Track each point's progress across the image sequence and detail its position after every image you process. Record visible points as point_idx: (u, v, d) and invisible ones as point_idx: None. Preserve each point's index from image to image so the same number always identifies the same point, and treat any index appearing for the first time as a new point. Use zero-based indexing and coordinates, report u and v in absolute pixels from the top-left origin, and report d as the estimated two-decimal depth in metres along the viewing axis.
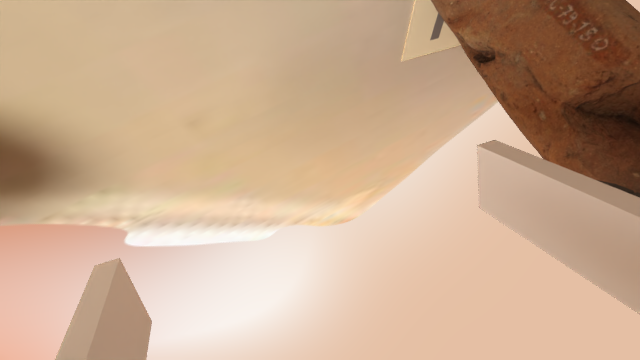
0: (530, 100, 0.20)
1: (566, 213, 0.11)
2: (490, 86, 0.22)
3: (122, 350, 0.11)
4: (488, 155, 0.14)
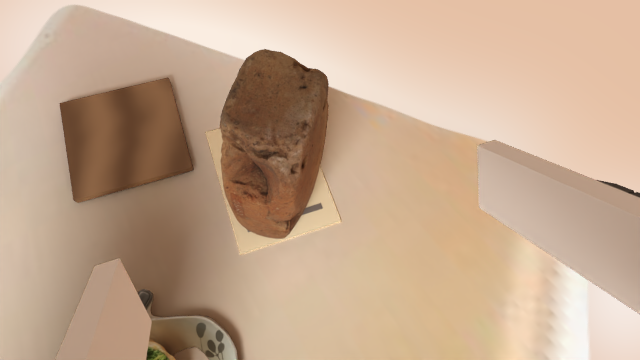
0: (277, 211, 0.33)
1: (566, 213, 0.11)
2: (293, 215, 0.36)
3: (122, 350, 0.11)
4: (488, 155, 0.14)
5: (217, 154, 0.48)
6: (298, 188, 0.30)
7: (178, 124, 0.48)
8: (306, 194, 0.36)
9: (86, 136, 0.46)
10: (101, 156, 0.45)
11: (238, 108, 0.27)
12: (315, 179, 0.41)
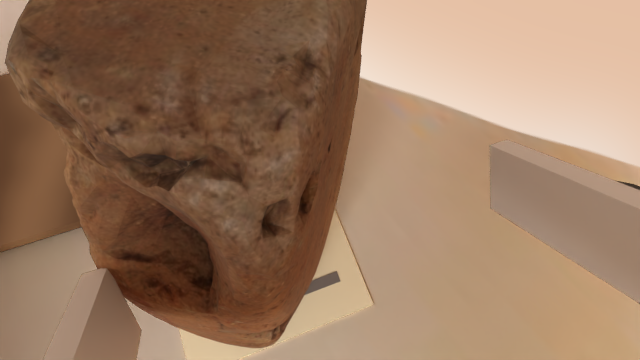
0: (242, 325, 0.13)
1: (583, 214, 0.11)
2: (285, 320, 0.16)
3: None
4: (501, 155, 0.14)
5: None
6: (292, 274, 0.10)
7: None
8: (313, 269, 0.16)
9: None
10: None
11: (71, 14, 0.08)
12: (328, 230, 0.21)
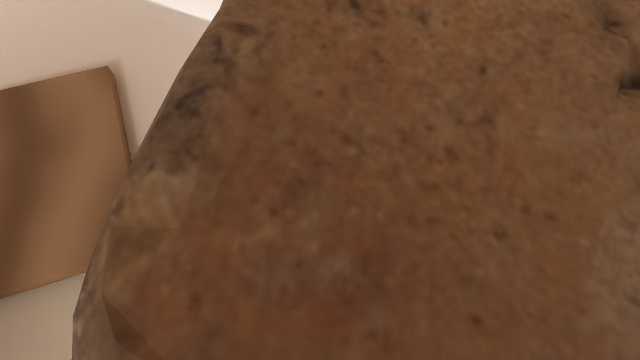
0: None
1: None
2: None
3: None
4: None
5: None
6: None
7: (121, 157, 0.24)
8: None
9: None
10: None
11: (220, 258, 0.03)
12: None
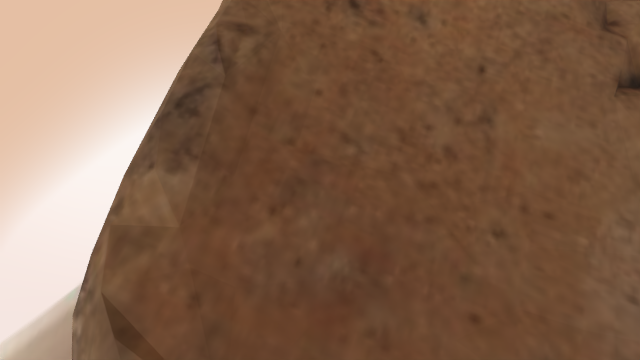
0: None
1: None
2: None
3: None
4: None
5: None
6: None
7: None
8: None
9: None
10: None
11: (219, 258, 0.03)
12: None
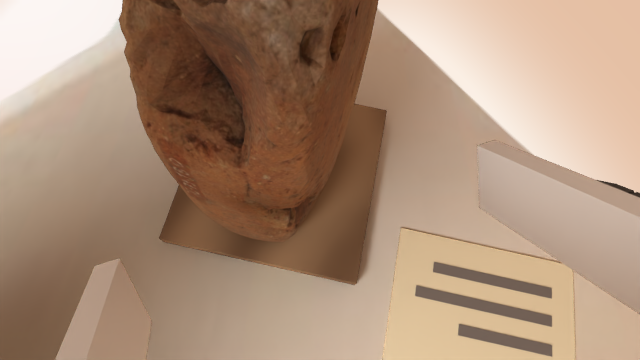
0: (267, 186, 0.15)
1: (565, 213, 0.11)
2: (303, 198, 0.17)
3: (122, 350, 0.11)
4: (488, 155, 0.14)
5: (404, 278, 0.26)
6: (318, 120, 0.12)
7: (368, 196, 0.27)
8: (330, 155, 0.18)
9: None
10: None
11: None
12: (344, 135, 0.22)
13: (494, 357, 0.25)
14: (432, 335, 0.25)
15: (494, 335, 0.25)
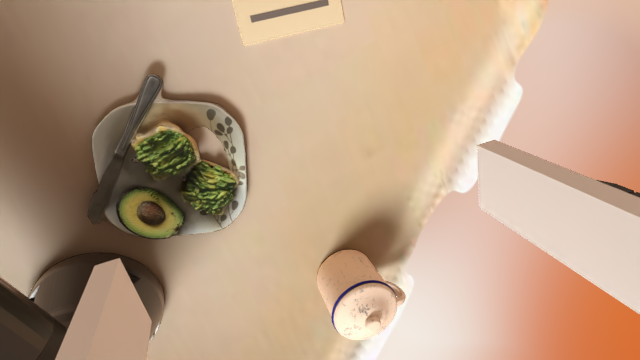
0: None
1: (565, 213, 0.11)
2: None
3: (122, 350, 0.11)
4: (488, 155, 0.14)
5: None
6: None
7: None
8: None
9: None
10: None
11: None
12: None
13: None
14: None
15: None
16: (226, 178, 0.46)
